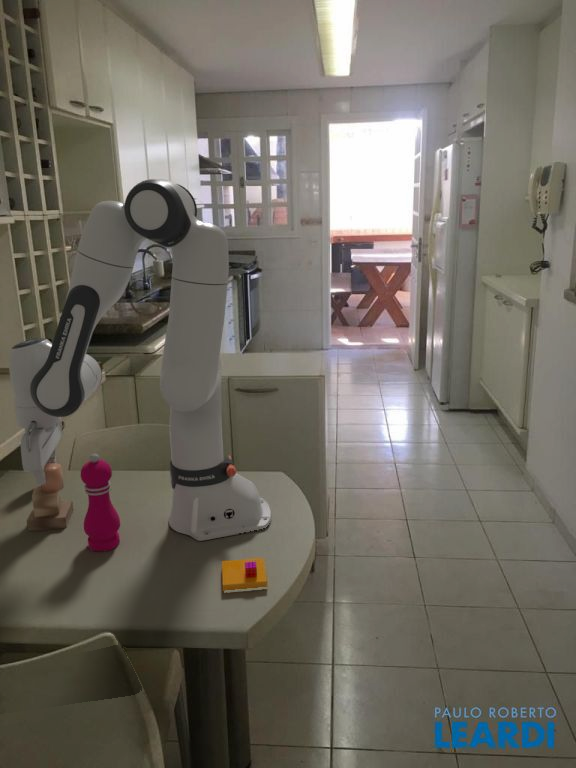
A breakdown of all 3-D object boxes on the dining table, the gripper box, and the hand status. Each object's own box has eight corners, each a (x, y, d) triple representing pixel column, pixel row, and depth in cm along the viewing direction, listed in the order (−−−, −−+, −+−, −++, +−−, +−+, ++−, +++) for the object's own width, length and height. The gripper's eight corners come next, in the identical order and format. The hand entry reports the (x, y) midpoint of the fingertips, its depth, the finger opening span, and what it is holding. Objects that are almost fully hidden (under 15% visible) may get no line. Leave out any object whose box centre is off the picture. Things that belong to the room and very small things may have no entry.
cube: (60, 503, 142) (58, 483, 141) (59, 514, 137) (56, 493, 136) (37, 507, 141) (34, 486, 139) (34, 517, 136) (31, 496, 135)
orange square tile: (223, 596, 113) (222, 575, 112) (222, 571, 120) (221, 551, 119) (267, 592, 114) (266, 571, 112) (264, 567, 121) (263, 548, 120)
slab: (73, 512, 145) (72, 500, 144) (66, 529, 137) (65, 517, 136) (37, 515, 144) (35, 503, 143) (28, 532, 136) (26, 520, 135)
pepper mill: (96, 533, 134) (86, 446, 128) (128, 536, 133) (119, 448, 127) (79, 551, 127) (67, 460, 122) (112, 554, 126) (102, 462, 120)
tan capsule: (66, 483, 141) (63, 462, 139) (60, 492, 137) (58, 471, 135) (44, 484, 140) (42, 463, 139) (39, 493, 136) (36, 472, 135)
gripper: (42, 430, 124) (51, 494, 128) (63, 399, 144) (70, 455, 147) (8, 432, 123) (18, 496, 127) (35, 400, 143) (43, 457, 147)
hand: (47, 474), depth 138 cm, fingers open, 8 cm apart
